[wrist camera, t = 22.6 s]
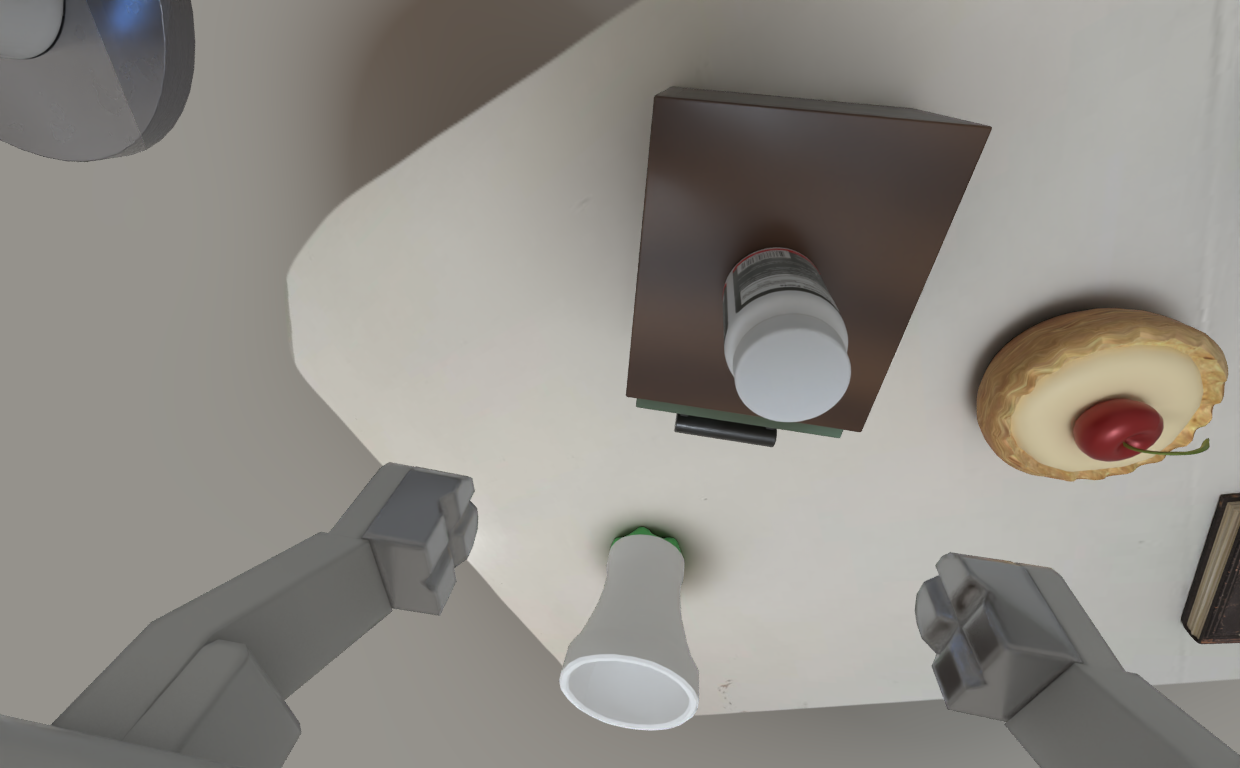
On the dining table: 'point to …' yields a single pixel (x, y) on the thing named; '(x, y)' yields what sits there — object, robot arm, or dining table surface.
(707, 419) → the drawer
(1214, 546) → the hardcover book
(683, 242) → the cabinet
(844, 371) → the pill bottle
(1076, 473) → the pastry
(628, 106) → the dining table surface
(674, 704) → the cup
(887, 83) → the dining table surface
